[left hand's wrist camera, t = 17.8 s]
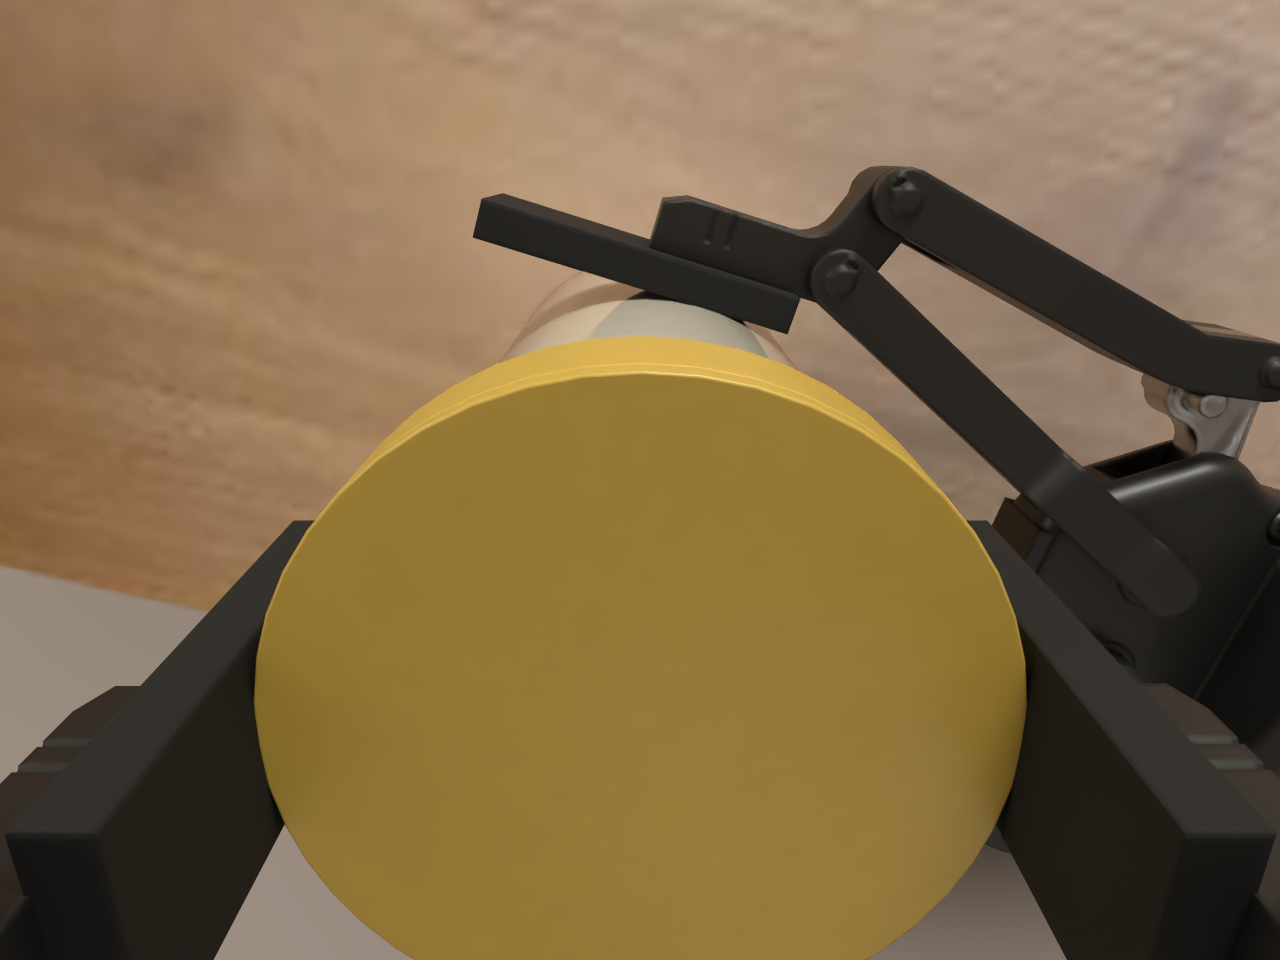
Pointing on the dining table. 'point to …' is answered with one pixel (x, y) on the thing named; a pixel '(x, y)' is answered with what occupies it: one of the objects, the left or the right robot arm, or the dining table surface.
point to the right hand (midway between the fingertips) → (443, 412)
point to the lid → (640, 669)
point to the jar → (633, 320)
